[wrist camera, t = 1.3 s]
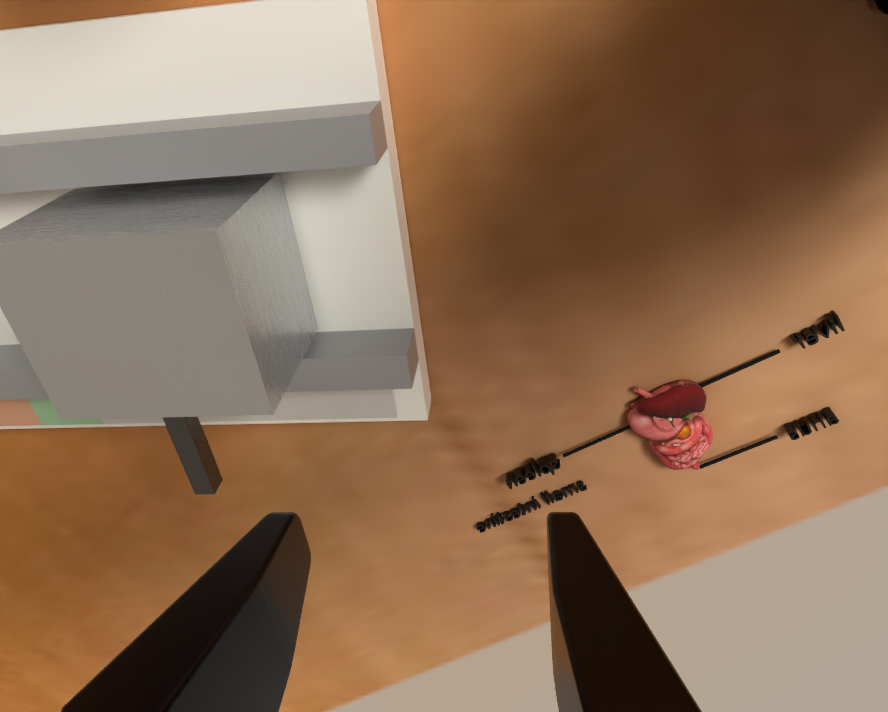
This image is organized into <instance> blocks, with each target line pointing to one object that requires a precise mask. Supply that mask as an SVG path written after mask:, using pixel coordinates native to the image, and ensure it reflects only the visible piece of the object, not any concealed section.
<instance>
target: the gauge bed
mask: <svg viewBox="0 0 888 712" xmlns="http://www.w3.org/2000/svg"><path fill="white" fill-rule="evenodd" d="M277 172H280V173H281V177H282V181H283V185H284V189H285V193H286V198H287V202H288V206H289V210H290V214H291V218H292V223H293V227H294V231H295V235H296V239H297V243H298V247H299V252H300V256H301V260H302V264H303V268H304V272H305V276H306V281H307V285H308V289H309V293H310V297H311V301H312V306H313V310H314V314H315V318H316V322H317V326H318V330H317V331H316V333H315V335H314V337H313V339H312V341H311V343H310V345H309V347H308V349H307V351H306V353H305V355H304V357H303V358H302V360H301V362H300V364H299V366H298V368H297V370H296V372H295V374H294V376H293V378H292V380H291V382H290V383H289V385H288V387H287V389H286V391H285V393H284V395H283V397H282V399H281V401H280V403H279V405H278V407H277V408H276V410H275V412H274V414H273V415H247V416H203V417H198V418H199V421H200V424H201V425H222V424H270V423H318V422H366V421H415V420H428V415H429V410H430V405H431V393H430V385H429V378H428V371H427V364H426V357H425V350H424V342H423V335H422V328H421V321H420V314H419V307H418V299H417V292H416V285H415V278H414V271H413V263H412V256H411V249H410V242H409V235H408V228H407V220H406V213H405V206H404V199H403V192H402V185H401V177H400V170H399V163H398V156H397V149H396V142H395V134H394V127H393V120H392V113H391V106H390V99H389V91H388V84H387V77H386V70H385V63H384V55H383V48H382V41H381V34H380V27H379V20H378V12H377V5H376V0H252V1H243V2H234V3H226V4H217V5H209V6H200V7H191V8H183V9H174V10H166V11H157V12H148V13H140V14H131V15H122V16H114V17H105V18H97V19H88V20H79V21H71V22H62V23H54V24H45V25H36V26H28V27H19V28H11V29H2V30H0V229H1V228H3V227H5V226H7V225H9V224H11V223H12V222H14V221H16V220H18V219H20V218H22V217H23V216H25V215H27V214H29V213H31V212H33V211H34V210H36V209H38V208H40V207H42V206H44V205H45V204H47V203H49V202H51V201H53V200H55V199H56V198H58V197H60V196H62V195H64V194H66V193H67V192H69V191H71V190H73V189H75V188H82V187H95V186H108V185H121V184H134V183H147V182H160V181H173V180H186V179H199V178H212V177H225V176H238V175H251V174H264V173H277ZM125 426H166V425H165V423H164V420H163V418H162V417H159V418H115V419H70V420H61V419H60V417H59V415H58V413H57V411H56V409H55V408H54V406H53V404H52V402H51V400H50V398H49V396H48V395H47V393H46V391H45V389H44V387H43V385H42V384H41V382H40V380H39V378H38V376H37V374H36V372H35V371H34V369H33V367H32V365H31V363H30V361H29V360H28V358H27V356H26V354H25V352H24V350H23V348H22V347H21V345H20V343H19V341H18V339H17V337H16V336H15V334H14V332H13V330H12V328H11V326H10V324H9V323H8V321H7V319H6V317H5V315H4V313H3V312H2V310H1V308H0V429H29V428H77V427H125Z"/></svg>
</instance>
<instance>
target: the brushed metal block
mask: <svg viewBox="0 0 888 712" xmlns="http://www.w3.org/2000/svg"><path fill="white" fill-rule="evenodd" d="M0 308H1V310H2V312H3V313H4V315H5V317H6V319H7V321H8V323H9V324H10V326H11V328H12V330H13V332H14V334H15V336H16V337H17V339H18V341H19V343H20V345H21V347H22V348H23V350H24V352H25V354H26V356H27V358H28V360H29V361H30V363H31V365H32V367H33V369H34V371H35V372H36V374H37V376H38V378H39V380H40V382H41V384H42V385H43V387H44V389H45V391H46V393H47V395H48V396H49V398H50V400H51V402H52V404H53V406H54V408H55V409H56V411H57V413H58V415H59V417H60V419H61V420H70V419H115V418H159V417H162V418H163V420H164V423H165V425H166V427H167V430H168V432H169V434H170V436H171V439H172V441H173V443H174V446H175V448H176V450H177V453H178V455H179V457H180V460H181V462H182V464H183V467H184V469H185V471H186V474H187V476H188V478H189V481H190V483H191V485H192V487H193V490H194V492H195V494H215V493H216V491H217V489H218V487H219V485H220V483H221V482H222V477H221V474H220V472H219V469H218V467H217V464H216V462H215V459H214V457H213V454H212V452H211V449H210V446H209V444H208V441H207V439H206V436H205V434H204V431H203V429H202V426H201V424H200V421H199V418H198V417H203V416H247V415H273V414H274V412H275V410H276V408H277V407H278V405H279V403H280V401H281V399H282V397H283V395H284V393H285V391H286V389H287V387H288V385H289V383H290V382H291V380H292V378H293V376H294V374H295V372H296V370H297V368H298V366H299V364H300V362H301V360H302V358H303V357H304V355H305V353H306V351H307V349H308V347H309V345H310V343H311V341H312V339H313V337H314V335H315V333H316V331H317V330H318V326H317V322H316V318H315V314H314V310H313V306H312V301H311V297H310V293H309V289H308V285H307V281H306V276H305V272H304V268H303V264H302V260H301V256H300V252H299V247H298V243H297V239H296V235H295V231H294V227H293V223H292V218H291V214H290V210H289V206H288V202H287V198H286V193H285V189H284V185H283V181H282V177H281V173H280V172H277V173H264V174H251V175H238V176H225V177H212V178H199V179H186V180H173V181H160V182H147V183H134V184H121V185H108V186H95V187H82V188H75V189H73V190H71V191H69V192H67V193H66V194H64V195H62V196H60V197H58V198H56V199H55V200H53V201H51V202H49V203H47V204H45V205H44V206H42V207H40V208H38V209H36V210H34V211H33V212H31V213H29V214H27V215H25V216H23V217H22V218H20V219H18V220H16V221H14V222H12V223H11V224H9V225H7V226H5V227H3V228H1V229H0Z"/></svg>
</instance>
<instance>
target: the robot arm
mask: <svg viewBox="0 0 888 712" xmlns="http://www.w3.org/2000/svg"><path fill="white" fill-rule="evenodd" d="M867 2H868V4H869V6H870V8H871V9H873V10H874V11H875V12H878V13H884V14H888V0H867ZM547 546H548V575H549V597H550V619H551V641H552V660H553V674H554V682H555V689H556V696H557V702H558V708H559V712H702V711H701V710H700V708H699V707H698V705H697V703H696V702H695V700H694V699H693V697H692V695H691V694H690V692H689V691H688V689H687V687H686V686H685V684H684V683H683V681H682V680H681V678H680V676H679V675H678V673H677V671H676V670H675V668H674V667H673V665H672V663H671V662H670V660H669V659H668V657H667V656H666V654H665V652H664V651H663V649H662V647H661V646H660V644H659V643H658V641H657V639H656V638H655V636H654V635H653V633H652V631H651V630H650V628H649V627H648V625H647V623H646V622H645V620H644V619H643V617H642V615H641V614H640V612H639V611H638V609H637V607H636V606H635V604H634V603H633V601H632V599H631V598H630V596H629V595H628V593H627V591H626V590H625V588H624V587H623V585H622V583H621V582H620V580H619V579H618V577H617V575H616V574H615V572H614V571H613V569H612V567H611V566H610V564H609V563H608V561H607V559H606V558H605V556H604V555H603V553H602V551H601V550H600V548H599V547H598V545H597V543H596V542H595V540H594V539H593V537H592V535H591V534H590V532H589V531H588V529H587V527H586V526H585V524H584V523H583V521H582V519H581V518H580V517H579V515H578V514H576V513H574V512H551V513H549V514H548V516H547ZM310 563H311V554H310V548H309V545H308V542H307V539H306V536H305V532H304V529H303V526H302V523H301V520H300V518H299V516H298V515H297V514H296V513H293V512H275V513H270V514H268V515H266V516H265V517H264V518H263V519H262V520H261V521H260V522H259V523H258V524H257V525H255V526H254V527H253V528H252V529H251V530H250V531H249V532H248V533H247V534H246V535H245V536H244V537H243V538H242V539H241V540H240V541H239V542H237V543H236V544H235V545H234V546H233V547H232V548H231V549H230V550H229V551H228V552H227V553H226V554H225V555H224V556H223V557H222V558H220V559H219V560H218V561H217V562H216V563H215V564H214V565H213V566H212V567H211V568H210V569H209V570H208V571H207V572H206V573H205V574H204V575H202V576H201V577H200V578H199V579H198V580H197V581H196V582H195V583H194V584H193V585H192V586H191V587H190V588H189V589H188V590H187V591H185V592H184V593H183V594H182V595H181V596H180V597H179V598H178V599H177V600H176V601H175V602H174V603H173V604H172V605H171V606H170V607H169V608H167V609H166V610H165V611H164V612H163V613H162V614H161V615H160V616H159V617H158V618H157V619H156V620H155V621H154V622H153V623H152V624H151V625H149V626H148V627H147V628H146V629H145V630H144V631H143V632H142V633H141V634H140V635H139V636H138V637H137V638H136V639H135V640H134V641H132V642H131V643H130V644H129V645H128V646H127V647H126V648H125V649H124V650H123V651H122V652H121V653H120V654H119V655H118V656H117V657H116V658H114V659H113V660H112V661H111V662H110V663H109V664H108V665H107V666H106V667H105V668H104V669H103V670H102V671H101V672H100V673H99V674H98V675H96V676H95V677H94V678H93V679H92V680H91V681H90V682H89V683H88V684H87V685H86V686H85V687H84V688H83V689H82V690H81V691H79V692H78V693H77V694H76V695H75V696H74V697H73V698H72V699H71V700H70V701H69V702H68V703H67V704H66V705H65V706H64V707H63V708H62V710H61V712H278V711H279V708H280V705H281V701H282V698H283V695H284V691H285V688H286V684H287V681H288V677H289V673H290V670H291V666H292V661H293V656H294V651H295V646H296V640H297V635H298V630H299V624H300V619H301V613H302V608H303V602H304V597H305V592H306V586H307V581H308V575H309V570H310Z"/></svg>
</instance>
